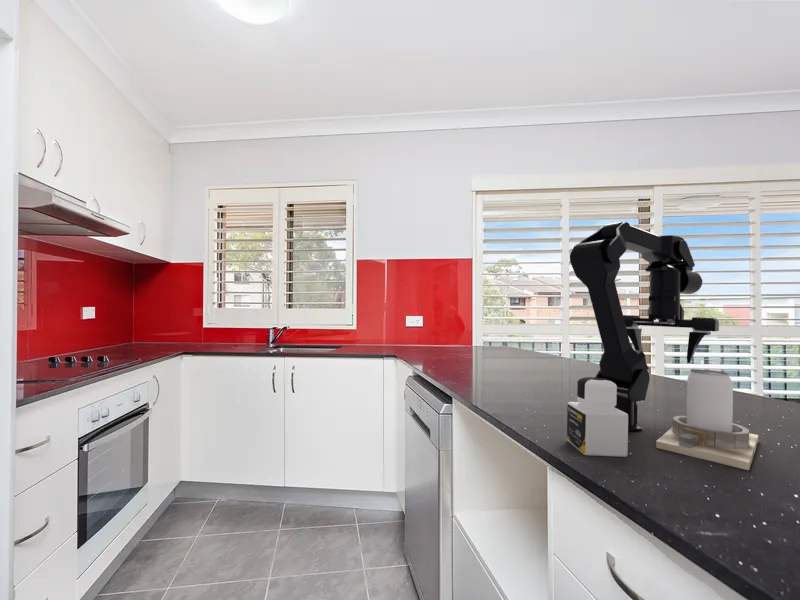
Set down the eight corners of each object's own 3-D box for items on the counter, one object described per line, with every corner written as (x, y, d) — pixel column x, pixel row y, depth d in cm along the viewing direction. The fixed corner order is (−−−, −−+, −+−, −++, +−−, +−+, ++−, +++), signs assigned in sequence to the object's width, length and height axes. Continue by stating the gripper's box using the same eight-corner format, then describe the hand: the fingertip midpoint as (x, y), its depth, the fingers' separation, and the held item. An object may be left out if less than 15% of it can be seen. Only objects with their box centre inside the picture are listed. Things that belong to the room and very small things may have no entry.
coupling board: (749, 470, 57) (749, 446, 58) (656, 447, 66) (656, 426, 66) (758, 441, 71) (758, 421, 71) (680, 425, 80) (680, 408, 80)
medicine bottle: (566, 440, 69) (567, 374, 69) (605, 442, 68) (607, 375, 69) (584, 455, 61) (585, 382, 62) (628, 457, 61) (629, 383, 61)
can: (715, 433, 72) (716, 369, 72) (742, 445, 65) (742, 375, 65) (678, 430, 72) (679, 368, 73) (701, 442, 66) (702, 373, 66)
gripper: (723, 293, 85) (722, 363, 84) (629, 294, 98) (628, 354, 98) (715, 291, 77) (714, 367, 77) (615, 292, 91) (613, 356, 90)
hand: (663, 360), depth 86 cm, fingers open, 9 cm apart
